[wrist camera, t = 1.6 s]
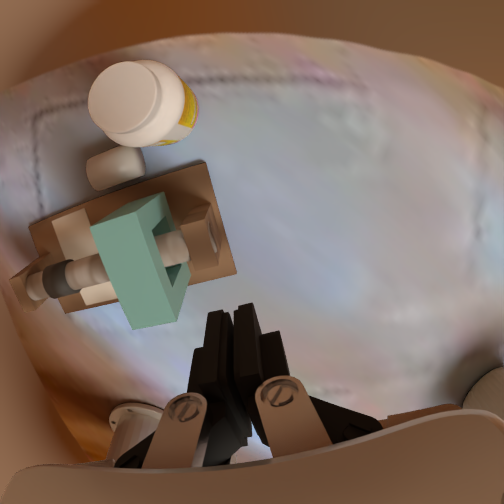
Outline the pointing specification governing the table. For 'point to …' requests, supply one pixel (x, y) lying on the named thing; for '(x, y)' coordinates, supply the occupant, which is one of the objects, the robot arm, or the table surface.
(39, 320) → the table surface
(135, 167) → the sleeve
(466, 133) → the table surface
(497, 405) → the canister
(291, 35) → the table surface
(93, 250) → the pipe rig
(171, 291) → the collar
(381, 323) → the table surface
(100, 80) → the supplement bottle
